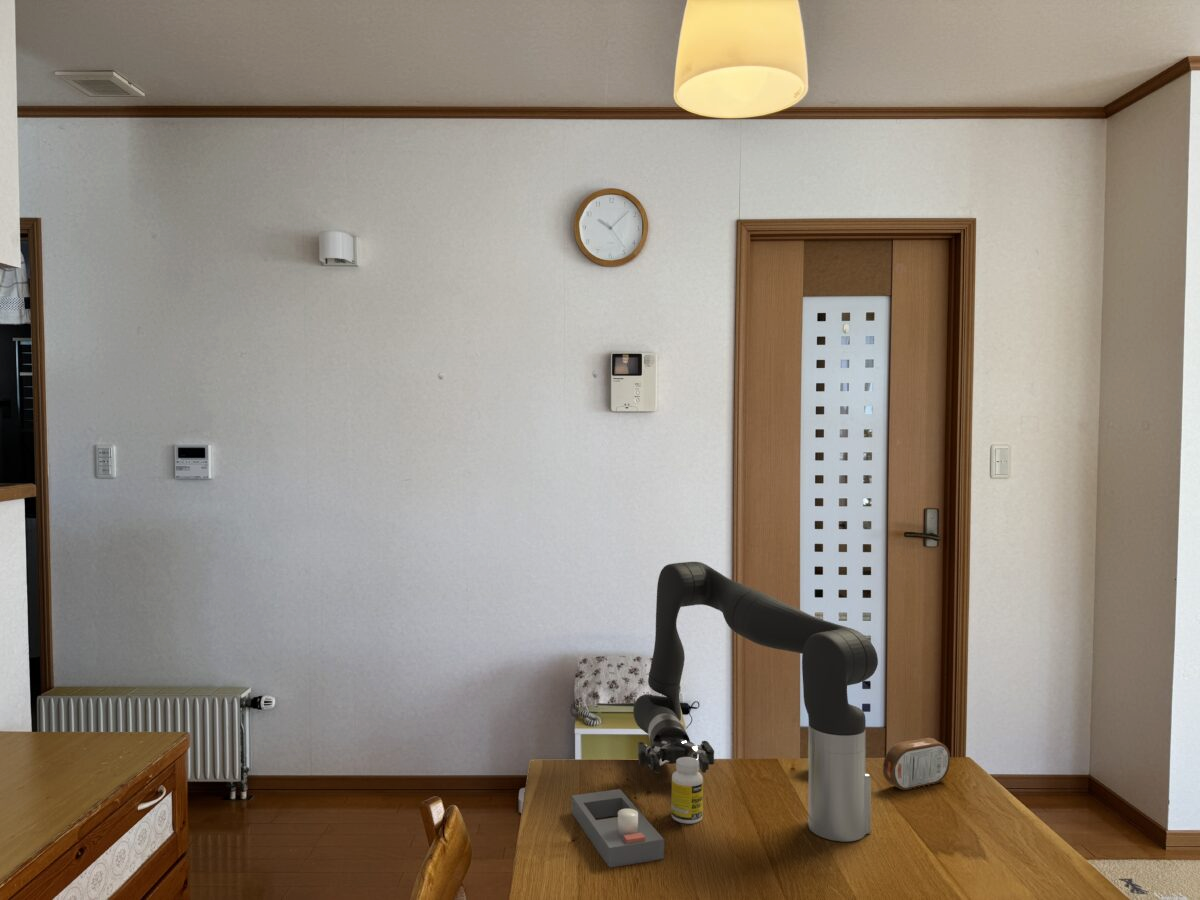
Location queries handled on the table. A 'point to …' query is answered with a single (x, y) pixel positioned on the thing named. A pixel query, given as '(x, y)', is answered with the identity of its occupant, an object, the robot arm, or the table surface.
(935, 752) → the tin
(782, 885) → the table surface
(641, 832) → the grey square-hole tray
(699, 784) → the supplement bottle
